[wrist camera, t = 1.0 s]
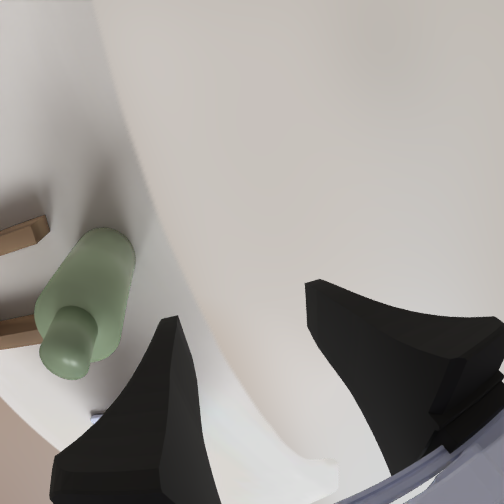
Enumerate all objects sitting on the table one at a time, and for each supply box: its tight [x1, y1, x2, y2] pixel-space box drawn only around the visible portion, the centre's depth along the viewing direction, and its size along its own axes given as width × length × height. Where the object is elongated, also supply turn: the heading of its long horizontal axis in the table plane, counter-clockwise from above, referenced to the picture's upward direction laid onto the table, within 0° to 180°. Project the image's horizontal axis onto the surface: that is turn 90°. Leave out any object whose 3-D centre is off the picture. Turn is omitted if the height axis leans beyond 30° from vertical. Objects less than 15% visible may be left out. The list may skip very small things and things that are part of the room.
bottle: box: [34, 228, 135, 380], centre depth 14 cm, size 4×4×10 cm
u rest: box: [0, 215, 50, 350], centre depth 16 cm, size 8×10×2 cm
